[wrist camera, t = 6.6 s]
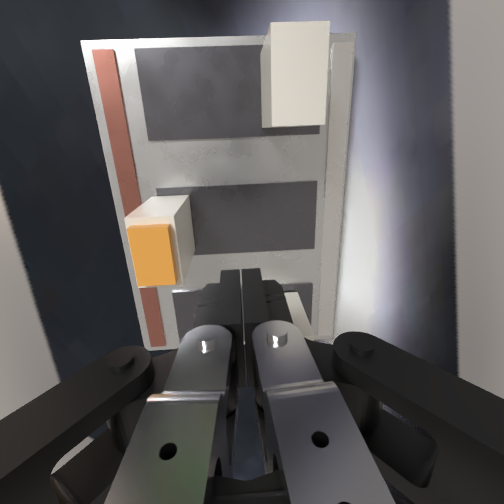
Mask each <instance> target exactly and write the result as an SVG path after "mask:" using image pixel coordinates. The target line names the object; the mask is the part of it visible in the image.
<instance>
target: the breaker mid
mask: <svg viewBox="0 0 504 504" xmlns="http://www.w3.org/2000/svg"><path fill="white" fill-rule="evenodd" d="M124 221H125V226H126V231H127V236H128V241H129V246H130V251H131V256H132V261H133V266H134V271H135V276H136V281H137V286H138V288H148V287H166V286H183V285H184V282H185V279H186V276H187V273H188V270H189V267H190V264H191V261H192V258H193V255H194V252H195V242H194V234H193V225H192V216H191V208H190V199H189V195H174V196H152V197H151V198H149V199H148V200H147V201H145V202H144V203H143V204H142V205H140V206H139V207H138V208H136V209H135V210H134V211H133V212H131V213H130V214H129V215H127V216H126V217H125V218H124Z"/></svg>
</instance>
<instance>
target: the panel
mask: <svg viewBox="0 0 504 504" xmlns="http://www.w3.org/2000/svg"><path fill="white" fill-rule="evenodd" d="M265 38H266V35H258V36H222V37H187V38H152V39H117V40H82V41H81V46H82V51H83V56H84V60H85V65H86V70H87V75H88V79H89V84H90V89H91V94H92V98H93V103H94V108H95V113H96V118H97V122H98V127H99V132H100V137H101V141H102V146H103V151H104V156H105V160H106V165H107V170H108V175H109V180H110V184H111V189H112V194H113V199H114V203H115V208H116V213H117V218H118V222H119V227H120V232H121V237H122V242H123V246H124V251H125V256H126V261H127V265H128V270H129V275H130V280H131V284H132V289H133V294H134V299H135V304H136V308H137V313H138V318H139V323H140V327H141V332H142V337H143V342H144V346H145V348H146V349H147V350H148V351H149V350H165V349H178V348H179V346H180V343H181V340H182V338H183V337H184V335H185V334H186V333H187V332H189V331H190V330H192V329H193V324H194V319H195V314H196V310H197V305H198V300H199V296H200V291H201V290H202V289H203V288H204V287H205V286H206V285H207V284H208V283H220V274H221V270H232V269H240V282H241V298H242V316H243V339H244V344H245V333H244V314H243V293H242V272H241V269H249V268H260V270H261V276H262V280H274V279H275V280H276V281H277V282H278V283H279V284H281V285H282V287H283V291H284V293H287V292H298V295H299V297H300V300H301V302H302V305H303V307H304V310H305V313H306V315H307V318H308V320H309V323H310V325H311V328H312V330H313V333H314V336H315V339H314V340H319V339H333V331H334V318H335V305H336V292H337V279H338V266H339V253H340V240H341V227H342V214H343V201H344V188H345V175H346V162H347V149H348V137H349V124H350V111H351V98H352V85H353V72H354V59H355V46H356V33H330V35H329V55H328V75H327V96H326V116H325V125H313V126H301V127H276V128H262V109H261V65H260V53H261V50H262V47H263V44H264V41H265ZM174 195H189V199H190V208H191V216H192V225H193V234H194V242H195V252H194V255H193V258H192V261H191V264H190V267H189V270H188V273H187V276H186V279H185V282H184V285H183V286H166V287H148V288H138V286H137V281H136V276H135V271H134V266H133V261H132V256H131V251H130V246H129V241H128V236H127V231H126V226H125V221H124V218H125V217H126V216H127V215H129V214H130V213H131V212H133V211H134V210H135V209H136V208H138V207H139V206H140V205H142V204H143V203H144V202H145V201H147V200H148V199H149V198H151V197H152V196H174Z"/></svg>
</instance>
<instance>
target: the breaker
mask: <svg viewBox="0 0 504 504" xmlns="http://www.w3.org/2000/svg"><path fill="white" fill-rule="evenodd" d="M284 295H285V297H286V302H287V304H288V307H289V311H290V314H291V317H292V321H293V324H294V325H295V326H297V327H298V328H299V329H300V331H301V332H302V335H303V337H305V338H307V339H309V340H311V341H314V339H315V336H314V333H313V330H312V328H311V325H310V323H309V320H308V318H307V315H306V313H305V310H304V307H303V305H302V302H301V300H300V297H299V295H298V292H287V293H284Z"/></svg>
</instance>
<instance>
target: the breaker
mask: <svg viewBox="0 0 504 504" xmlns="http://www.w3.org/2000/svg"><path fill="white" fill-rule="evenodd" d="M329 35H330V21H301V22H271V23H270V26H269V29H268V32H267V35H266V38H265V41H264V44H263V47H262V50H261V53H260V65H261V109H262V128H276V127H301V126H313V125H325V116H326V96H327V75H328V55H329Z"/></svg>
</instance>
